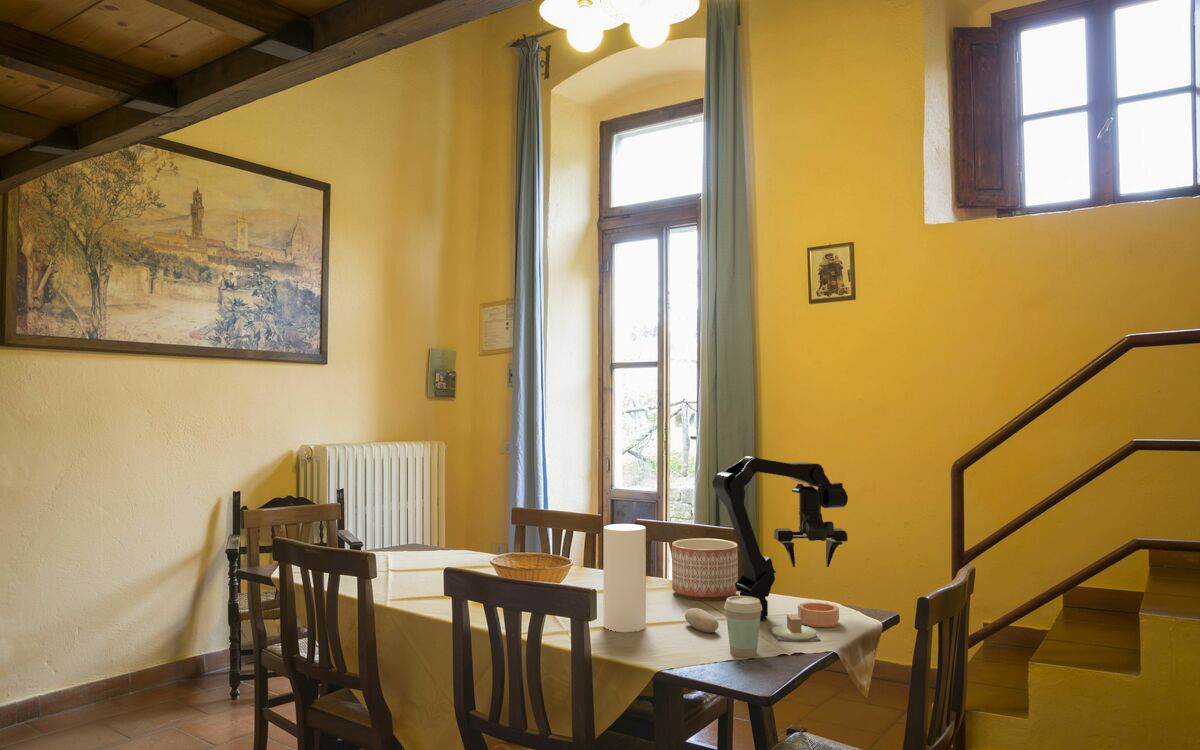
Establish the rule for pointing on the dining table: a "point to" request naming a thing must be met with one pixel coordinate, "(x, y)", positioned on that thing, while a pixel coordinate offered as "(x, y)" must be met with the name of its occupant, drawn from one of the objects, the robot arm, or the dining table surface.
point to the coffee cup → (743, 624)
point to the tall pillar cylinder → (625, 577)
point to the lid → (794, 629)
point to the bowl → (818, 614)
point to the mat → (794, 640)
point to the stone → (701, 620)
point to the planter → (704, 568)
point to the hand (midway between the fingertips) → (810, 566)
